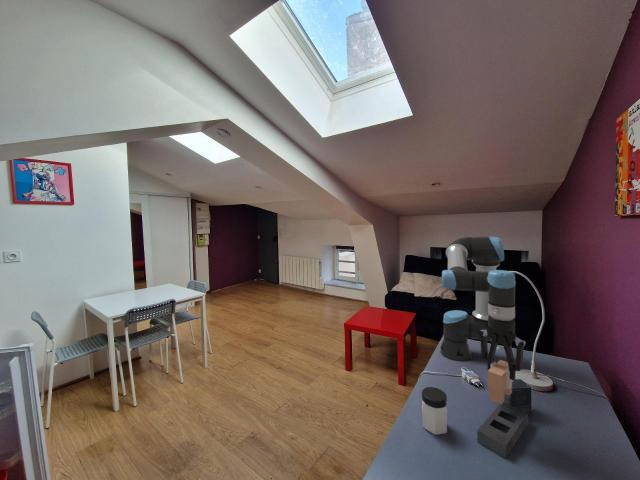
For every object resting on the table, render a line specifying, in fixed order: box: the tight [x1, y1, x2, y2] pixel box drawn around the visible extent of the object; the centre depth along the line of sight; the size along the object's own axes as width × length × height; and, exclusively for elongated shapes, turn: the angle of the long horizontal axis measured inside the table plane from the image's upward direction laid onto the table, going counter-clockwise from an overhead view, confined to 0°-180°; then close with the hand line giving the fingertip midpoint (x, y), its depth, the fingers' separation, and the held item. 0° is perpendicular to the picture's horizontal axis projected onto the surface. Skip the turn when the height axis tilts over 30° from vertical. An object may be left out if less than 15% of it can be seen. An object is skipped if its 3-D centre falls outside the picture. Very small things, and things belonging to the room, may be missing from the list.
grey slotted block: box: [476, 402, 529, 459], centre depth 91 cm, size 22×8×4 cm, turn 128°
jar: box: [421, 386, 448, 436], centre depth 95 cm, size 9×8×12 cm
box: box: [504, 378, 533, 415], centre depth 101 cm, size 8×6×11 cm
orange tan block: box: [487, 359, 514, 405], centre depth 90 cm, size 11×4×10 cm, turn 127°
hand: (501, 384), depth 91 cm, fingers closed on orange tan block, 4 cm apart
